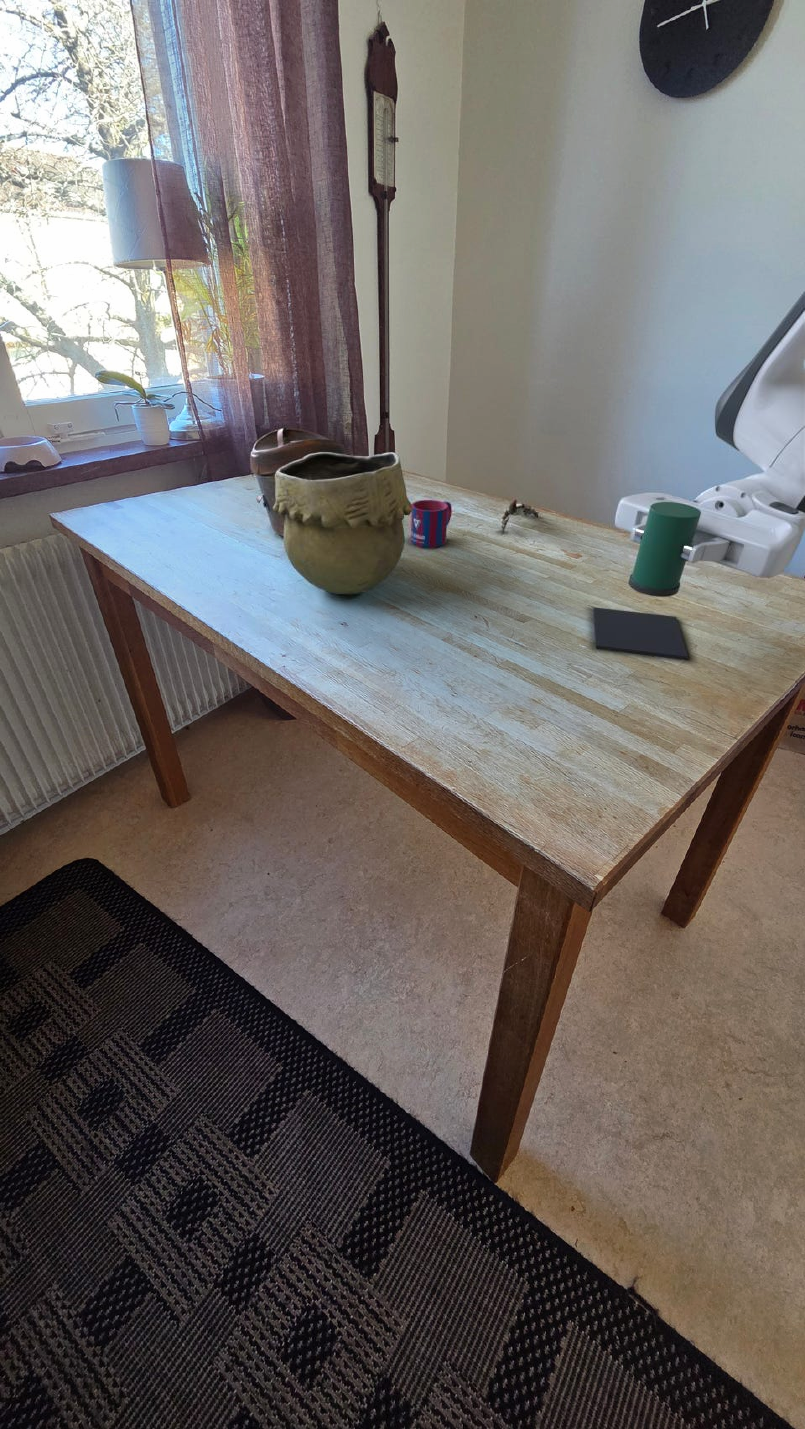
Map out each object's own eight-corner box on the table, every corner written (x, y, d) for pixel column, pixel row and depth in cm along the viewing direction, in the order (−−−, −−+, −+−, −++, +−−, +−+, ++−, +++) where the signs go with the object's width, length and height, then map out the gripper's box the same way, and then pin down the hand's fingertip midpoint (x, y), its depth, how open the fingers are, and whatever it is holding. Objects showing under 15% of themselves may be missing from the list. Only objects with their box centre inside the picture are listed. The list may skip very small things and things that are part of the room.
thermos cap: (675, 579, 72) (698, 503, 67) (681, 599, 68) (707, 520, 62) (626, 574, 73) (646, 499, 68) (630, 593, 69) (651, 515, 63)
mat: (675, 619, 90) (676, 616, 90) (687, 660, 81) (688, 656, 80) (592, 610, 92) (593, 607, 92) (595, 648, 83) (596, 645, 82)
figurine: (518, 531, 129) (497, 534, 116) (509, 515, 129) (487, 516, 116) (542, 515, 126) (523, 516, 113) (533, 499, 126) (513, 497, 113)
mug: (403, 541, 114) (403, 504, 110) (439, 529, 120) (441, 494, 116) (428, 550, 110) (430, 513, 106) (464, 538, 116) (467, 502, 112)
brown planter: (289, 507, 129) (280, 415, 118) (370, 524, 121) (368, 427, 111) (233, 532, 116) (218, 432, 105) (320, 552, 109) (313, 446, 98)
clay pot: (251, 599, 93) (232, 463, 81) (325, 553, 108) (317, 433, 97) (370, 629, 86) (368, 485, 74) (430, 576, 101) (437, 449, 89)
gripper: (660, 474, 78) (592, 492, 71) (824, 518, 65) (761, 545, 59) (647, 522, 82) (581, 543, 75) (800, 573, 69) (738, 604, 62)
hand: (661, 545), depth 67 cm, fingers closed on thermos cap, 5 cm apart
